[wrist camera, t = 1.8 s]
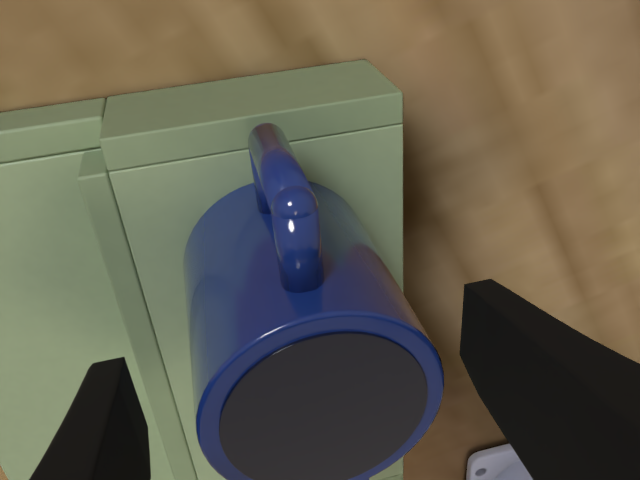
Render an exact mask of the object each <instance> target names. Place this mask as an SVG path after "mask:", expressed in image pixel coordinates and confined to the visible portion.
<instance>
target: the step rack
mask: <svg viewBox="0 0 640 480" xmlns="http://www.w3.org/2000/svg"><path fill="white" fill-rule="evenodd" d="M261 123H272V124H275V125H277V126H278V127H280V128H281V129H282V131H283V132H284V134H285V136H286V138H287V140H288V142H289V144H290V146H291V148H292V150H293V152H294V154H295V156H296V158H297V160H298V162H299V164H300V166H301V168H302V170H303V172H304V174H305V176H306V178H307V180H308V181H310V182H314V183H317V184H319V185H322V186H324V187H327V188H328V189H330V190H332V191H334V192H335V193H337V194H338V195H339V196H341V197H342V198H343V199H344V200H345V201H346V202H347V203H348V204H349V205H350V206H351V207H352V208H353V210H354V211H355V213H356V214H357V216H358V217H359V219H360V221H361V223H362V224H363V226H364V228H365V229H366V231H367V233H368V234H369V236H370V238H371V240H372V241H373V243H374V245H375V246H376V248H377V250H378V251H379V253H380V255H381V257H382V258H383V260H384V262H385V263H386V265H387V267H388V268H389V270H390V272H391V274H392V275H393V277H394V279H395V280H396V282H397V284H398V285H399V287H400V289H401V291H402V292H403V124H402V123H403V93H402V91H401V90H399V89H398V88H397V87H396V86H395V85H394V84H393V83H392V82H391V81H390V80H388V79H387V78H386V77H385V76H384V75H383V74H382V73H381V72H380V71H378V70H377V69H376V68H375V67H374V66H373V65H372V64H371V63H370V62H368V61H367V60H366V59H363V60H357V61H350V62H343V63H336V64H329V65H322V66H315V67H308V68H302V69H295V70H288V71H281V72H274V73H267V74H260V75H253V76H247V77H240V78H233V79H226V80H219V81H212V82H205V83H198V84H192V85H185V86H178V87H171V88H164V89H157V90H150V91H143V92H137V93H130V94H123V95H116V96H109V97H107V100H106V99H105V98H98V99H91V100H84V101H78V102H71V103H64V104H57V105H50V106H43V107H36V108H29V109H23V110H16V111H9V112H2V113H0V465H1V467H2V469H3V471H4V472H5V474H6V476H7V478H8V480H29V479H30V477H31V475H32V474H33V472H34V471H35V469H36V467H37V466H38V464H39V463H40V461H41V459H42V457H43V456H44V454H45V452H46V450H47V449H48V447H49V445H50V443H51V441H52V440H53V438H54V436H55V434H56V432H57V430H58V429H59V427H60V425H61V423H62V421H63V419H64V417H65V416H66V414H67V412H68V410H69V408H70V406H71V404H72V402H73V400H74V398H75V396H76V394H77V392H78V390H79V388H80V385H81V383H82V381H83V379H84V377H85V375H86V373H87V371H88V369H89V367H90V366H91V365H92V363H96V362H101V361H106V360H110V359H115V358H120V357H125V360H126V363H127V366H128V369H129V372H130V375H131V378H132V381H133V384H134V387H135V390H136V393H137V396H138V399H139V402H140V405H141V408H142V411H143V413H144V416H145V419H146V422H147V425H148V435H149V450H150V468H151V480H226V479H225V478H224V477H222V476H221V475H220V474H218V473H217V472H216V471H215V469H214V468H213V467H212V466H211V465H210V464H209V463H208V461H207V459H206V458H205V456H204V455H203V453H202V451H201V448H200V446H199V443H198V440H197V434H196V428H195V415H194V402H193V389H192V376H191V363H190V350H189V337H188V324H187V311H186V298H185V285H184V272H183V259H184V252H185V247H186V244H187V241H188V238H189V236H190V234H191V232H192V230H193V228H194V227H195V225H196V224H197V222H198V221H199V219H200V218H201V217H202V216H203V214H204V213H205V212H206V211H207V210H208V209H209V208H210V207H211V206H212V205H213V204H215V203H216V202H217V201H218V200H219V199H221V198H222V197H224V196H225V195H227V194H228V193H230V192H232V191H234V190H236V189H238V188H240V187H242V186H245V185H248V184H251V183H253V182H254V181H253V174H252V168H251V161H250V154H249V148H248V137H249V134H250V132H251V131H252V129H253V128H254V127H255V126H257V125H259V124H261ZM369 479H370V480H403V457H402V458H400V459H399V460H398V461H396V462H395V463H394V464H392V465H391V466H389V467H388V468H386V469H385V470H383V471H381V472H380V473H378V474H376V475H374V476H372V477H370V478H369Z"/></svg>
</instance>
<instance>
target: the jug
mask: <svg viewBox="0 0 640 480" xmlns="http://www.w3.org/2000/svg"><path fill="white" fill-rule="evenodd" d="M248 148H249V154H250V161H251V168H252V174H253V181H254V182H253V183H251V184H248V185H245V186H242V187H240V188H238V189H236V190H234V191H232V192H230V193H228V194H227V195H225V196H224V197H222V198H221V199H219V200H218V201H217V202H216V203H215V204H213V205H212V206H211V207H210V208H209V209H208V210H207V211H206V212H205V213H204V214H203V216H202V217H201V218H200V219H199V221H198V222H197V224H196V225H195V227H194V228H193V230H192V232H191V234H190V236H189V238H188V241H187V244H186V247H185V252H184V259H183V272H184V285H185V298H186V311H187V324H188V337H189V350H190V363H191V376H192V389H193V402H194V415H195V428H196V434H197V440H198V443H199V446H200V448H201V451H202V453H203V455H204V456H205V458H206V459H207V461H208V463H209V464H210V465H211V466H212V467H213V468H214V469H215V471H216V472H217V473H218V474H220V475H221V476H222V477H224V478H225V479H226V480H370V479H369V478H370V477H372V476H374V475H376V474H378V473H380V472H381V471H383V470H385V469H386V468H388V467H389V466H391V465H392V464H394V463H395V462H396V461H398V460H399V459H400V458H402V457H403V456H404V455H405V454H406V453H407V452H409V451H410V450H411V449H412V448H413V447H414V446H415V445H416V444H417V443H418V441H419V440H420V439H421V438H422V437H423V435H424V434H425V433H426V431H427V430H428V429H429V427H430V425H431V424H432V422H433V420H434V419H435V416H436V414H437V412H438V410H439V407H440V404H441V400H442V397H443V389H444V371H443V367H442V363H441V359H440V357H439V355H438V352H437V350H436V348H435V347H434V345H433V343H432V342H431V340H430V338H429V336H428V335H427V333H426V331H425V330H424V328H423V326H422V325H421V323H420V321H419V319H418V318H417V316H416V314H415V313H414V311H413V309H412V308H411V306H410V304H409V302H408V301H407V299H406V297H405V296H404V294H403V292H402V291H401V289H400V287H399V285H398V284H397V282H396V280H395V279H394V277H393V275H392V274H391V272H390V270H389V268H388V267H387V265H386V263H385V262H384V260H383V258H382V257H381V255H380V253H379V251H378V250H377V248H376V246H375V245H374V243H373V241H372V240H371V238H370V236H369V234H368V233H367V231H366V229H365V228H364V226H363V224H362V223H361V221H360V219H359V217H358V216H357V214H356V213H355V211H354V210H353V208H352V207H351V206H350V205H349V204H348V203H347V202H346V201H345V200H344V199H343V198H342V197H341V196H339V195H338V194H337V193H335V192H334V191H332V190H330V189H328V188H327V187H324V186H322V185H319V184H317V183H314V182H310V181H308V180H307V178H306V176H305V174H304V172H303V170H302V168H301V166H300V164H299V162H298V160H297V158H296V156H295V154H294V152H293V150H292V148H291V146H290V144H289V142H288V140H287V138H286V136H285V134H284V132H283V131H282V129H281V128H280V127H278V126H277V125H275V124H272V123H261V124H259V125H257V126H255V127H254V128H253V129H252V131H251V132H250V134H249V137H248Z"/></svg>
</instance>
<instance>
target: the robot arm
mask: <svg viewBox="0 0 640 480" xmlns="http://www.w3.org/2000/svg"><path fill="white" fill-rule="evenodd" d="M460 356H461V359H462V361H463V363H464V365H465V367H466V370H467V372H468V374H469V376H470V378H471V380H472V382H473V384H474V386H475V388H476V390H477V393H478V395H479V396H480V398H481V399H482V401H483V403H484V404H485V406H486V407H487V409H488V411H489V412H490V414H491V415H492V417H493V418H494V420H495V422H496V423H497V425H498V426H499V428H500V429H501V431H502V432H503V434H504V436H505V437H506V439H507V440H508V442H509V444H505V445H501V446H497V447H493V448H489V449H485V450H481V451H478V452H475V453H474V454H472V455H471V456H470V457H469V459H468V464H467V475H466V480H640V364H639V363H637V362H635V361H633V360H631V359H629V358H627V357H625V356H623V355H621V354H619V353H617V352H615V351H613V350H611V349H609V348H607V347H605V346H604V345H602V344H600V343H598V342H596V341H594V340H592V339H591V338H589V337H587V336H585V335H583V334H582V333H580V332H578V331H576V330H575V329H573V328H571V327H569V326H568V325H566V324H564V323H563V322H561V321H559V320H558V319H556V318H554V317H553V316H551V315H549V314H548V313H546V312H544V311H543V310H541V309H539V308H538V307H536V306H535V305H533V304H531V303H530V302H528V301H526V300H525V299H523V298H522V297H520V296H518V295H517V294H515V293H514V292H512V291H510V290H509V289H507V288H505V287H504V286H502V285H501V284H499V283H497V282H495V281H494V280H492V279H488V280H483V281H478V282H474V283H469V284H464V299H463V314H462V328H461V343H460ZM29 480H151V468H150V450H149V435H148V425H147V422H146V419H145V416H144V413H143V411H142V408H141V405H140V402H139V399H138V396H137V393H136V390H135V387H134V384H133V381H132V378H131V375H130V372H129V369H128V366H127V363H126V360H125V357H120V358H115V359H110V360H106V361H101V362H96V363H92V365H91V366H90V367H89V369H88V371H87V373H86V375H85V377H84V379H83V381H82V383H81V385H80V388H79V390H78V392H77V394H76V396H75V398H74V400H73V402H72V404H71V406H70V408H69V410H68V412H67V414H66V416H65V417H64V419H63V421H62V423H61V425H60V427H59V429H58V430H57V432H56V434H55V436H54V438H53V440H52V441H51V443H50V445H49V447H48V449H47V450H46V452H45V454H44V456H43V457H42V459H41V461H40V463H39V464H38V466H37V467H36V469H35V471H34V472H33V474H32V475H31V477H30V479H29Z"/></svg>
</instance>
